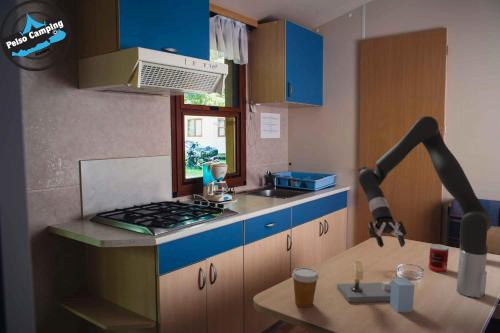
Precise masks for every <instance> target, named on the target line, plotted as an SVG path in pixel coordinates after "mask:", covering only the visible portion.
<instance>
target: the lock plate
mask: <svg viewBox="0 0 500 333" xmlns="http://www.w3.org/2000/svg"><path fill="white" fill-rule="evenodd" d="M354 283H355V282H353V283H337V285H336V289H337V291H339V293H340V294H341V295H342V296H343V298H344V299H345V300H346V302H348V303H367V302H368V303H369V302H371V303H372V302H390V297H391V283H392V281H391V282H389V281H381V282H364V283H363V282H361V283H360V282H359V289H355V288H354Z"/></svg>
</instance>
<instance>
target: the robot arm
mask: <svg viewBox="0 0 500 333" xmlns="http://www.w3.org/2000/svg"><path fill="white" fill-rule="evenodd" d="M421 143H422V145H423V147H424V148H425V149H426V151H427V153H428V155H429V158H430V159H431V163H432V166H433V168H434V170H435V172H436V176H437V177H438V178H439V180H440V182H441V184H442V186H443V187H444V189H445V190H446V191H447V192H448V193H449V194H450V195H451V196H452V198H454V199H455V200H456V203H457V204H458V205H459V207H460V209H461V211H462V214H463V216H462V218H461V220H460V228H459V253H460V256H459V258H458V259H459V260H458V270H457V280H456V292H457V291H458V292H459V293H458V292H457V293H458V294H460V293H461V294H460V295H462V294H463V295H462V296H465V295H466V296H465V297H468V296H471V297H470V298H474V297H477V298H476V299H479V298H480V297H481V298H482V297H484V296H485V295H484V294H486V286H487V285H486V284H487V275H488V273H487V271H486V267H487V257H488V246H487V238H488V236H487V235H488V231H489V230H490V229H491V227H492V224H493V223H492V218H491V216H490V215H489V213H488V211H487V210H486V208H485V207H484V206H483V204H482V202H480V200H479V199H478V197H477V195H476V193H475V191H474V189H473V187H472V185H471V183H470V181H469V179H468V177H467V175H466V173H465V171H464V170H463V169H464V168H463V167H462V166H461V164H460V162H459V161H458V159H457V157H455V155H454V154H453V152H452V151H451V150H450V149H449V148H448V147H447V144H446V143H445V141H444V138H443V136H442V135H441V131H440V129H439V123H438V120H437V119H435V118H434V117H433V116H428V115H425V116H421V117H420V118H419V119H417V120H416V122H415V123H414V124H413V125H412V127H411V128H410V130H409V131H407V133H406V134H404V136H403V137H402V138H401V139H400V140H399V141H398V142H397V143H396V144H395V145H394V146H392V147H391V148H390V149H388V151H387V152H386V153H385V154H383V155H382V156H381V157H380V158H379V159H378V160H376V162H375V166H376V168H375V170H374V171H373V170H371V169H370V168H362V169H361V170H360V172H359V173H358V182H359V185H360V186H361V188H362V190H363V192H364V194H365V196H366V199H367V202H368V203H367V204H368V207H369V211H370V213H371V217H372V219H373V221H369V223H368V224H367V228H368V233H369V236H370V238H371V239H376V243H377V245H378V247H380V248H383V247H384V241H383V238H382V236H381V234H384V235H385V234H392V235H393V236H395V238H397V240H398V242H399V246H400V248H401V247H402V248H403V247H404V246H405V244H406V242H405V236H406V235H407V233H408V232H407V230H406V228H405V226H404V223H403V222H402V220H400V221H398V222H395V221H394V217H393V214H392V212H391V209H390V205H389V203H388V202H387V199H386V197H385V195H384V191H383V189H382V188H381V187H380V186H381V185H382V183H383V182H384V181H385V179H386V177H387V176H388V174H389V173H390V172H391V171H393V170H394V169H395V168H396V167H397V166H398V165H399V164H400V163H402V161H403V160H405V158H406V157H407V156H408V155H409V154H410V153H411V152H412V151H413V149H415V148H416V147H417V146H419V145H420V144H421ZM375 228H376V229H377V232H376V229H375ZM483 295H484V296H483ZM481 298H480V299H481Z"/></svg>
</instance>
